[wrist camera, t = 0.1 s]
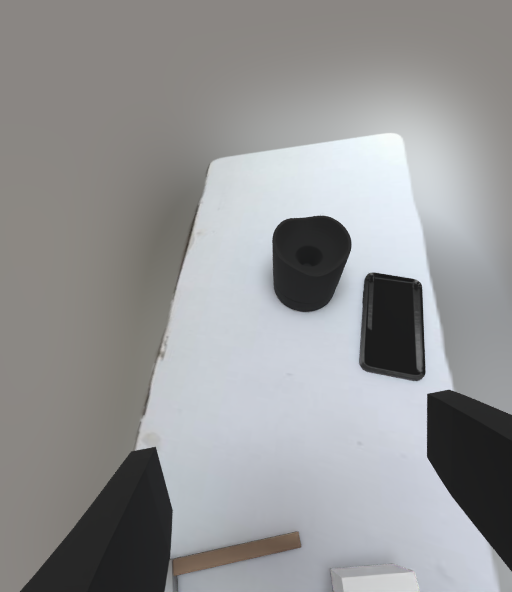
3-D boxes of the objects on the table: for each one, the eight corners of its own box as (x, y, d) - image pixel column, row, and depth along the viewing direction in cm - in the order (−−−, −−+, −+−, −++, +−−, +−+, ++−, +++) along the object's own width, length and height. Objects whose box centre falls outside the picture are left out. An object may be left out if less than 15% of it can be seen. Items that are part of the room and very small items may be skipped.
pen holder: (316, 327, 47) (327, 285, 38) (258, 294, 50) (257, 248, 41) (348, 279, 51) (364, 232, 42) (292, 251, 54) (298, 202, 45)
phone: (421, 280, 50) (425, 380, 42) (418, 284, 51) (422, 383, 43) (365, 271, 51) (359, 367, 43) (363, 275, 52) (357, 370, 44)
